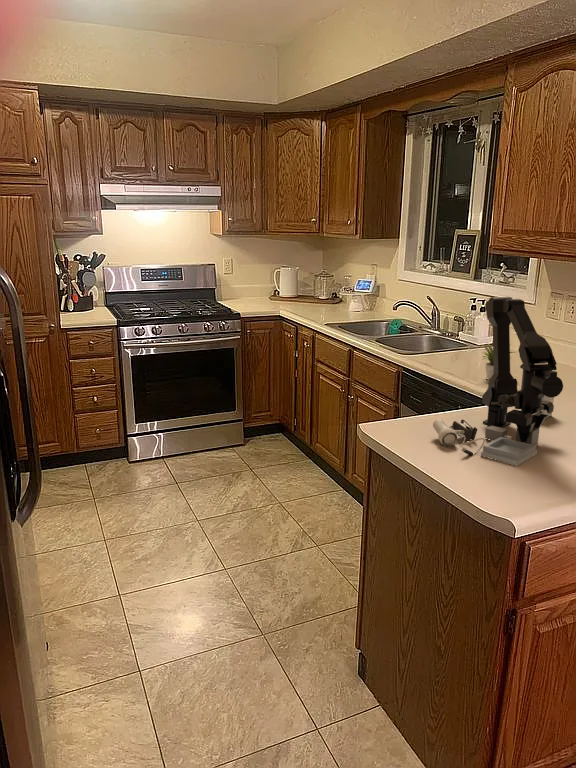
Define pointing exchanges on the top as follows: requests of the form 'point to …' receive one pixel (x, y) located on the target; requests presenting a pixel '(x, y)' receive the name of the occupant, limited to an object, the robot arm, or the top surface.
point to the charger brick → (530, 436)
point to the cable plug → (496, 433)
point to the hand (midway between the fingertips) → (526, 440)
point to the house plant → (490, 357)
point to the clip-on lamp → (456, 433)
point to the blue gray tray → (509, 451)
